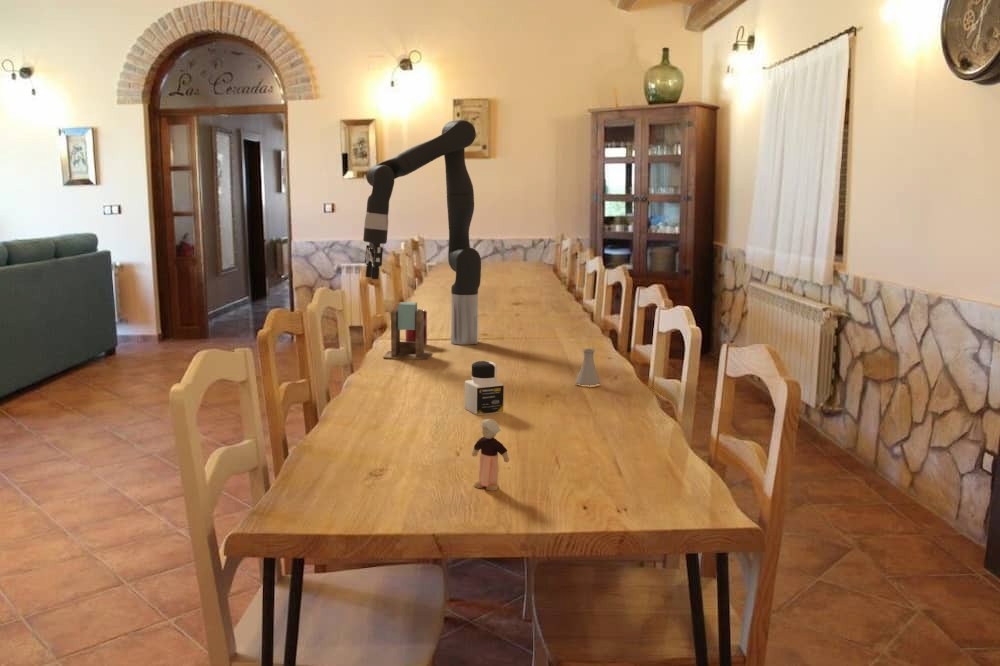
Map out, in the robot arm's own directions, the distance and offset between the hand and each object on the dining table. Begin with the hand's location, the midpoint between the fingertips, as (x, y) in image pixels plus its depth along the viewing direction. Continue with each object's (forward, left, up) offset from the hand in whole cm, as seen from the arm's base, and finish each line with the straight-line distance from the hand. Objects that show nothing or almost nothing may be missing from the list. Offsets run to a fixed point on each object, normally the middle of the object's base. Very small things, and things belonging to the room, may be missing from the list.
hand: (371, 278), depth 273 cm
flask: (-68, +43, -24) cm, 84 cm away
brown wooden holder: (-13, +8, -24) cm, 28 cm away
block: (-13, +8, -15) cm, 21 cm away
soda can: (-13, -12, -24) cm, 30 cm away
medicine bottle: (-41, +73, -24) cm, 87 cm away
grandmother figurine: (-45, +126, -24) cm, 136 cm away
